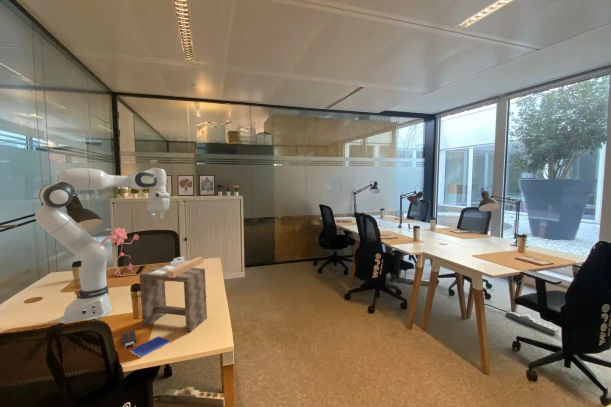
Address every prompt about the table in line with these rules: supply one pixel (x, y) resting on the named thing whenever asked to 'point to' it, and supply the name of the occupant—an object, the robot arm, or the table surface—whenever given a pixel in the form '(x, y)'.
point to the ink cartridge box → (177, 261)
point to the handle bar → (185, 267)
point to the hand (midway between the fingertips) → (157, 218)
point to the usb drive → (128, 339)
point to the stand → (156, 301)
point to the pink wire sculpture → (119, 238)
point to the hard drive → (149, 346)
